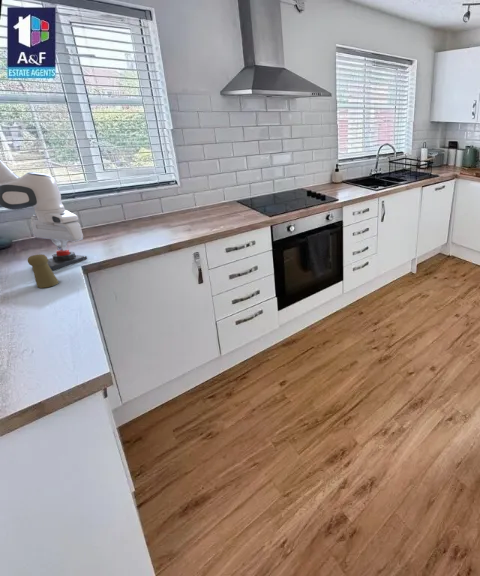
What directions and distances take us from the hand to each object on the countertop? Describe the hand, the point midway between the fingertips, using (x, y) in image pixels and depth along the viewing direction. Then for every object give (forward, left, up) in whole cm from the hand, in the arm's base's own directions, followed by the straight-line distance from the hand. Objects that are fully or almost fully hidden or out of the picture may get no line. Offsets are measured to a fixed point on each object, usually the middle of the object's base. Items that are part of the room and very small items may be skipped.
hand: (62, 250), depth 149 cm
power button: (0, 0, -2) cm, 2 cm away
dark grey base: (-2, 0, -7) cm, 7 cm away
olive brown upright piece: (-14, -17, -7) cm, 23 cm away
